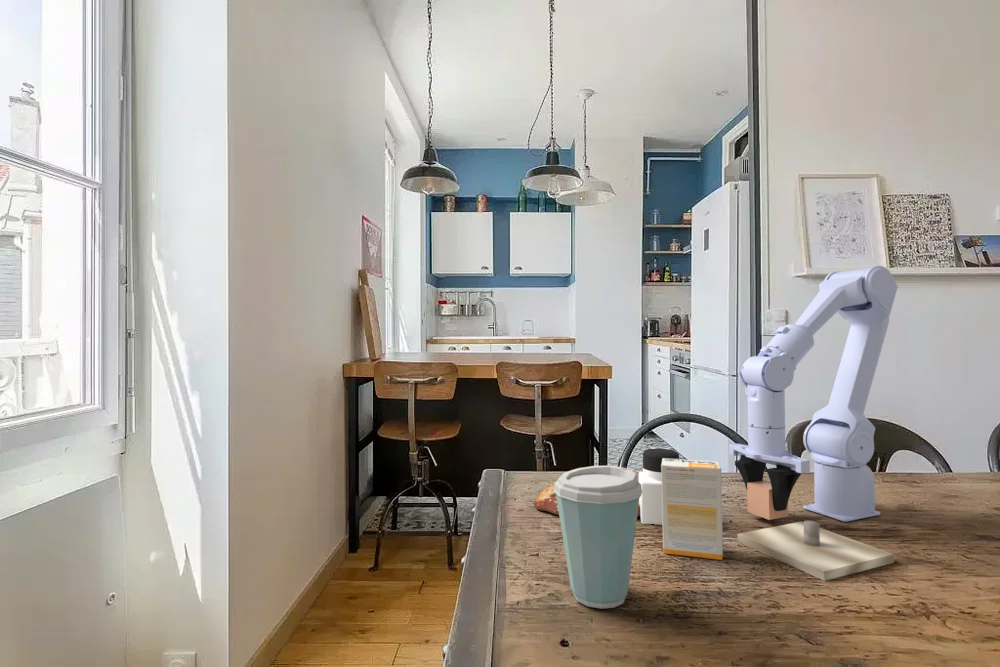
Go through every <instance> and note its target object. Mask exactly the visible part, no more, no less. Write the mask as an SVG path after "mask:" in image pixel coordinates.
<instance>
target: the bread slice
mask: <svg viewBox="0 0 1000 667" xmlns="http://www.w3.org/2000/svg"><path fill="white" fill-rule="evenodd" d="M533 505H534V507H535V509H537V510H538V511H545V512H548V513H551V514H554V515H557V516H559V511H558V504H557V498H556V492H555V491H554V484H552V485H550V486H549V487H546V488H545V489H544V490H542V491H541V492H540V493H539V494H538V495H537V497H536V498H535V501H534V503H533ZM637 517H640V501H639V505H638V513H637Z"/></svg>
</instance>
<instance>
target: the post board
mask: <svg viewBox="0 0 1000 667" xmlns="http://www.w3.org/2000/svg"><path fill="white" fill-rule="evenodd" d="M737 543H740V544H741V545H744V546H745V547H748V548H750V549H753V550H755V551H758V552H759V553H761V554H764V555H766V556H769V557H771V558H772V557H773V558H772V559H775V560H777V561H779V562H782V563H783V564H786V563H787V564H786V565H789V566H790V565H791V567H792V566H793V568H795V569H797V570H799V569H800V571H801V570H802V572H803V571H804V573H806V574H808V573H809V574H808V575H811V576H813V577H815V578H817V579H820V580H821V581H823V582H824V581H829V580H833V579H837V578H841V577H845V576H849V575H853V574H857V573H860V572H864V571H868V570H871V569H875V568H879V567H882V566H887V564H888V565H890V564H894V563H895V555H894V553H891V552H888V551H885V550H884V549H881V548H877V547H875V546H872V545H870V544H867V543H863V542H861V541H857V540H856V539H852V538H850V537H847V536H844V535H841V534H838V533H835V532H833V531H830V530H826V529H825V528H823V527H821V526H820V523H819V522H817V521H815V520H804V521H798V522H792V523H786V524H781V525H777V526H773V527H766V528H761V529H756V530H750V531H746V532H741V533H737Z"/></svg>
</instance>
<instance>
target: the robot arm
mask: <svg viewBox="0 0 1000 667" xmlns="http://www.w3.org/2000/svg"><path fill="white" fill-rule="evenodd" d="M897 291H898V285H897V282H896V280H895V279H894V276H893V275H892V273H891V271H890V270H889V269H888V268H887V267H885V266H883V265H875V266H872V267H867V268H858V269H852V270H845V271H832V272H830V273H828V275H826V276H825V278H824V279H823V280H822V281H821V282H820V283H819V284H818V292H817V294H816V295H815V297H814V298H813V299H812V300H811V301H810V303H809V305H807V307H806V308H805V309H804V311H803V312H802V314H801V315H800V317H798V319H797V320H796V321H795V323H791V324H790V323H789V324H785V325H783V326H779V327H778V328H777V329H776V330H775V333H776V334H775V335H774V336H773V337H772V338H771V340H769V342H768V343H767V344H766V345H765V346H763V347H761V349H760V350H759V353H758V354H757V355H753V356H750V357H749V358H747V359H746V360H745V362H743V364H742V366H741V368H740V369H741V370H740V371H738V376H739V380H740V382H741V383H742V385H743V386H744V394H745V396H746V397H747V399H746V400H747V444H741V443H731V444H729V446H728V448H729V450H728V451H729V456H733V457H734V456H735V457H736V456H738V457H740V458H739V460H734V466H735V467H736V468H737V470H738V472H739V474H740V476H741V478H742V481H743V482H744V485H745V489H746V490H747V483H750V482H757V481H763V480H764V474H765V469H766V472H767V475H768V478H769V481H770V482H771V487H772V496H773V506H774V510H776V511H782V510H786V508H787V504H788V505H789V500H790V497H791V493H792V490H793V489H794V486H795V484H796V483H797V481H798V480H799V478H800V476H801V475H802V474H805V473H806V474H807V473H810V472H811V469H810V468H811V466H810V465H811V464H810V463H811V462H810V459H811V460H813V463H814V464H813V478H814V480H813V482H814V484H813V487H814V489H813V490H814V492H813V493H814V496H813V498H814V503H810V504H809V503H808V504H805V505H802V508H803V509H804V510H805V509H806V510H807V511H810V512H814V513H817V514H819V515H823V516H825V517H829V518H833V519H834V520H838V521H842V522H846V523H847V522H851V521H856V520H860V519H866V518H867V519H868V518H871V517H875V516H880V515H881V511H877V510H876V480H875V475H874V473H873V471H872V469H871V468H870V466H868V465H867V463H869V462H870V461H871V459H872V457H873V456H874V452H875V440H874V437H875V431H876V427H875V426H874V424H873V423H872V422H871V421H870V420H869V419H868V418H867V417H866V416H865V415H864V412H865V409H866V405H867V401H868V398H869V394H870V391H871V388H872V384H873V381H874V377H875V374H876V370H877V367H878V364H879V358H880V356H881V352H882V349H883V345H884V342H885V338H886V336H887V335H886V334H887V331H888V327H889V324H890V315H891V313H892V309H893V304H894V301H895V299H896V295H897ZM836 314H839V316H841V318H843V319H844V320H847V321H848V323H849V324H850V327H849V331H848V334H847V338H846V341H845V344H844V345H845V346H844V348H843V352H842V354H841V359H840V363H839V365H838V369H837V373H836V377H835V380H834V384H833V387H832V390H831V393H830V396H829V400H828V404H827V405H825V406H824V407H822V408H821V409H819V410H817V411H816V412H815V413H813V416H812V419H811V421H810V423H809V424H808V425H807V426H806V428H805V429H804V432H803V436H802V438H803V439H802V442H803V445H804V448H805V450H806V451H807V452H808V453H809V454H810V459H807V458H806V459H805V458H803V457H799V456H797V455H794V454H791V453H790V452H786V411H785V410H786V403H785V402H786V396H785V395H786V394H785V393H786V392H785V390H786V389H787V388H788V387H790V386H791V385H792V383H793V380H794V376H795V371H796V370H797V365H799V363H800V362H801V361H802V360H803V358H805V356H806V355H807V354H808V353H809V352H810V350H811V349H813V347H814V345H815V339H814V335H815V334H816V333H817V332H818V331H820V329H821V328H823V326H825V324H827V322H829V321H830V320H831V318H833V317H834V316H835V315H836ZM767 464H769V465H772V466H776V467H770V468H766V466H767Z"/></svg>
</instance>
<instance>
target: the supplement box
mask: <svg viewBox="0 0 1000 667" xmlns="http://www.w3.org/2000/svg"><path fill="white" fill-rule="evenodd" d="M661 474H662V525H661V526H662V551H663V554H666V555H677V556H684V557H686V556H687V557H695V558H702V559H710V560H711V559H712V560H717V561H718V560H719V561H722V560H723V558H724V552H723V551H724V550H723V549H724V548H723V545H724V543H723V542H724V540H723V538H724V537H723V536H724V535H723V497H722V496H723V493H722V492H723V490H722V487H723V486H722V468H721V466H720V463H719V461H715V460H714V461H713V460H701V459H700V460H699V459H682V458H679V459H668V458H663V459H662V464H661Z"/></svg>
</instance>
